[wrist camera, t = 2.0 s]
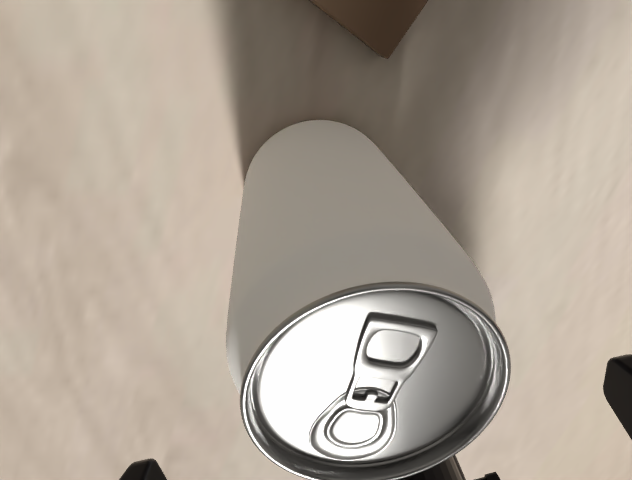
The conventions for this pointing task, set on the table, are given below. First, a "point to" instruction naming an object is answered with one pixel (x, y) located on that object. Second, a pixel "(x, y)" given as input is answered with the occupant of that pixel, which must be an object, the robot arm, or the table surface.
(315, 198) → the can
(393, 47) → the walnut board
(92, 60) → the table surface
